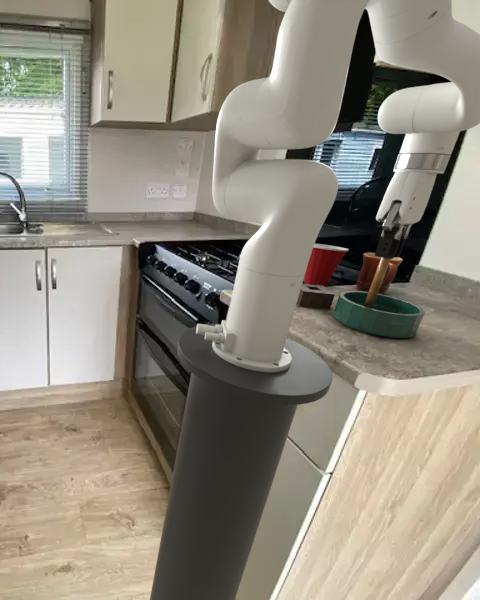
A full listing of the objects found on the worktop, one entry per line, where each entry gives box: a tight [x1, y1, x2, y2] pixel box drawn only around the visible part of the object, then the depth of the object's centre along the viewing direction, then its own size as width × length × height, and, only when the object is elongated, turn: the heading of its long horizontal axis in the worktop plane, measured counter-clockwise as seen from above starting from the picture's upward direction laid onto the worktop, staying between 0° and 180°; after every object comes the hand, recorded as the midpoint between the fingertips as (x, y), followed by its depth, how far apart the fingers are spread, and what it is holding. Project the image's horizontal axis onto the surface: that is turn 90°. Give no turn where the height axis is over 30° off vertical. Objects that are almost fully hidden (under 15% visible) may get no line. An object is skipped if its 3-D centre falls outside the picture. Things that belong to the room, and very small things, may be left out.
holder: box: [296, 283, 336, 310], centre depth 90 cm, size 7×7×4 cm
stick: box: [364, 231, 403, 308], centre depth 77 cm, size 2×2×18 cm
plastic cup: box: [303, 243, 349, 288], centre depth 105 cm, size 11×11×12 cm
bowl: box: [333, 290, 426, 339], centre depth 78 cm, size 15×15×6 cm
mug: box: [355, 252, 404, 295], centre depth 99 cm, size 12×9×10 cm
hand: (386, 256), depth 76 cm, fingers closed on stick, 2 cm apart
